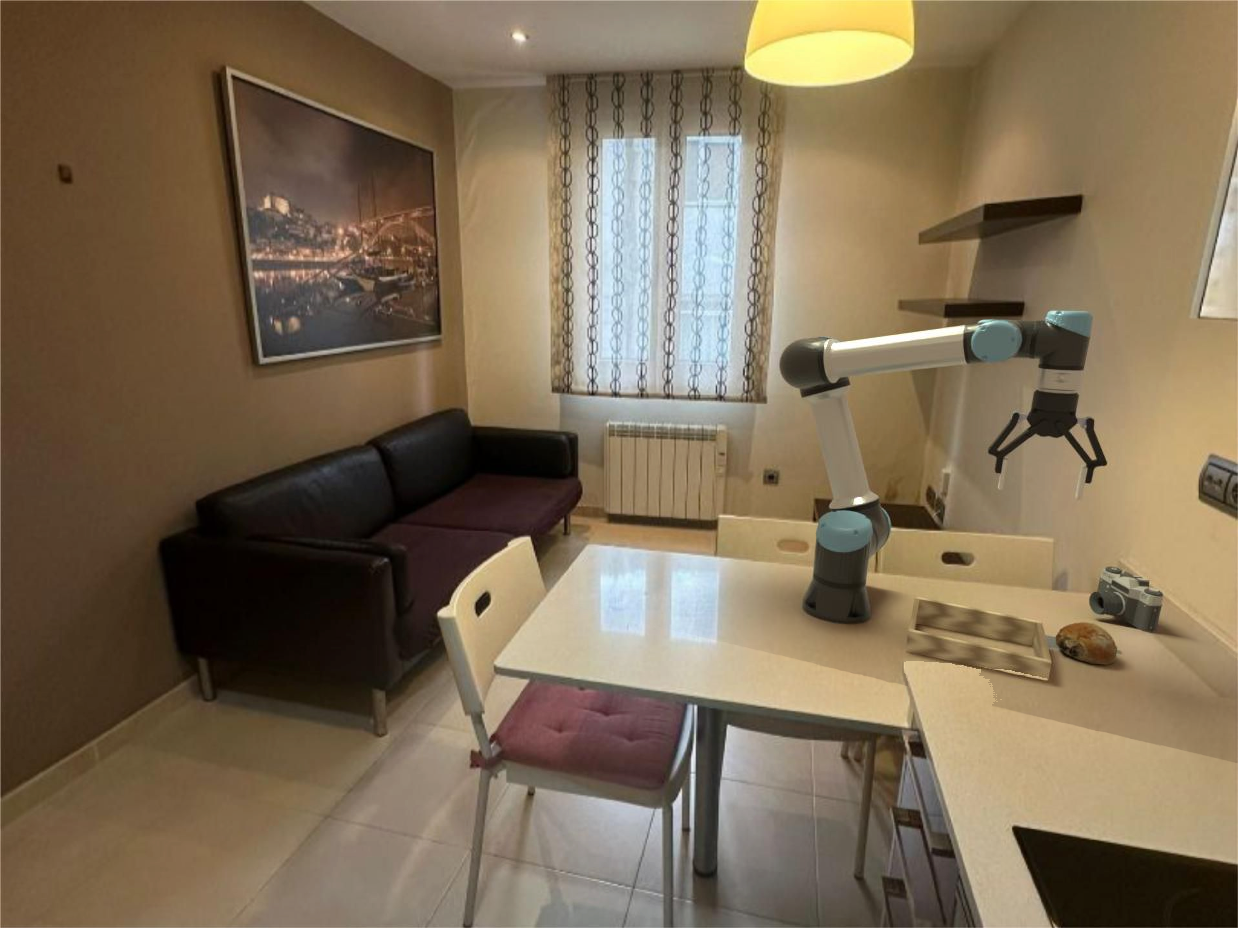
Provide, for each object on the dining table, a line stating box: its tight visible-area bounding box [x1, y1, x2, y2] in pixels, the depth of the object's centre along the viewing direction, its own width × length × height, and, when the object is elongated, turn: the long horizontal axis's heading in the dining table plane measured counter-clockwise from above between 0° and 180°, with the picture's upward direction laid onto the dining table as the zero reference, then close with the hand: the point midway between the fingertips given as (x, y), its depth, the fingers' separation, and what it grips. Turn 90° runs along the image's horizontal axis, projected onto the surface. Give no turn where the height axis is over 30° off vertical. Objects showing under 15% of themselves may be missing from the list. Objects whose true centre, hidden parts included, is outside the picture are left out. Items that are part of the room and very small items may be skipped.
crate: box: [905, 595, 1053, 680], centre depth 130 cm, size 24×18×6 cm
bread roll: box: [1055, 621, 1118, 666], centre depth 128 cm, size 10×10×8 cm
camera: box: [1088, 566, 1164, 633], centre depth 147 cm, size 16×10×10 cm, turn 179°
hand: (1038, 493), depth 132 cm, fingers open, 13 cm apart
